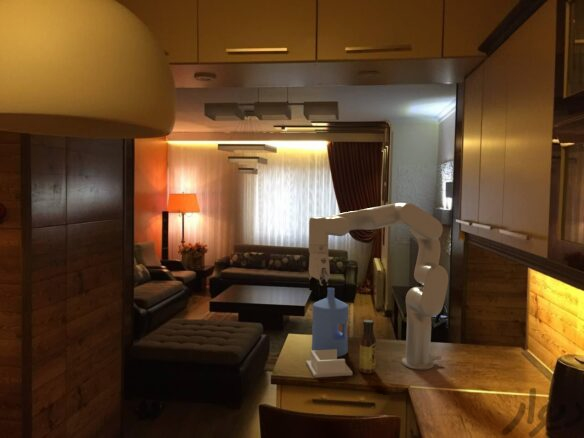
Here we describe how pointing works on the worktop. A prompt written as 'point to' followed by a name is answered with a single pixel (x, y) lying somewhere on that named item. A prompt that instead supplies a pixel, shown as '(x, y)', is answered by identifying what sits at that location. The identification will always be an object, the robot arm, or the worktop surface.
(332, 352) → the end holder
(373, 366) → the sauce bottle
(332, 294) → the water jug
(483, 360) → the worktop surface
